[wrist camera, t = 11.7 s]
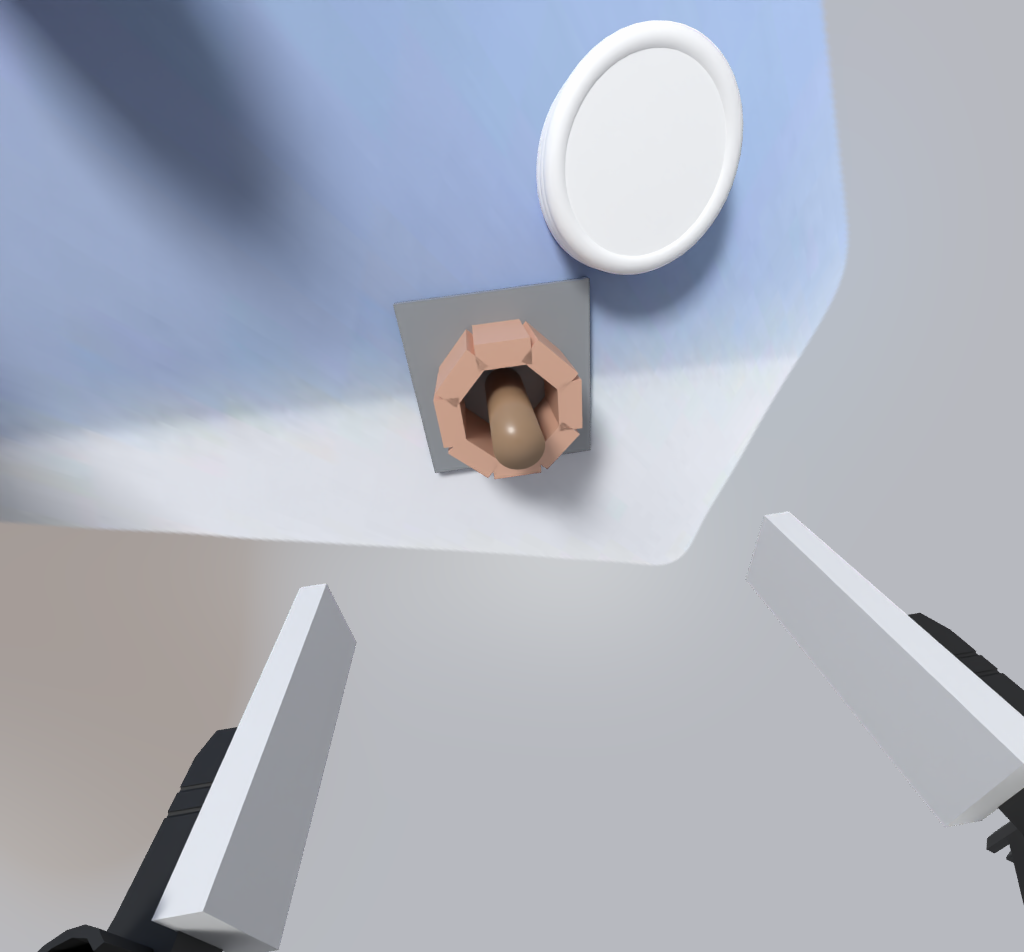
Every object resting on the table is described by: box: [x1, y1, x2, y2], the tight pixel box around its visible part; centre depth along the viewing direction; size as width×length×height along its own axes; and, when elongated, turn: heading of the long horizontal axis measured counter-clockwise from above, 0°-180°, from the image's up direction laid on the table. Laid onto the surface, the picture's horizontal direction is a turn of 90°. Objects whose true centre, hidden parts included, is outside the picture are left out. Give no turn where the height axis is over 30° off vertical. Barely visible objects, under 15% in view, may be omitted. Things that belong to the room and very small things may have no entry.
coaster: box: [536, 21, 743, 275], centre depth 21 cm, size 10×10×4 cm
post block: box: [393, 277, 590, 473], centre depth 24 cm, size 12×12×10 cm
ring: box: [433, 319, 582, 479], centre depth 26 cm, size 8×8×5 cm
